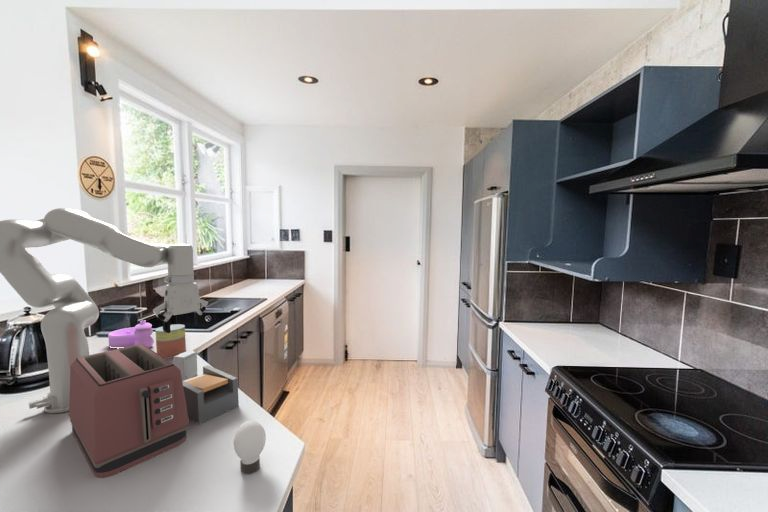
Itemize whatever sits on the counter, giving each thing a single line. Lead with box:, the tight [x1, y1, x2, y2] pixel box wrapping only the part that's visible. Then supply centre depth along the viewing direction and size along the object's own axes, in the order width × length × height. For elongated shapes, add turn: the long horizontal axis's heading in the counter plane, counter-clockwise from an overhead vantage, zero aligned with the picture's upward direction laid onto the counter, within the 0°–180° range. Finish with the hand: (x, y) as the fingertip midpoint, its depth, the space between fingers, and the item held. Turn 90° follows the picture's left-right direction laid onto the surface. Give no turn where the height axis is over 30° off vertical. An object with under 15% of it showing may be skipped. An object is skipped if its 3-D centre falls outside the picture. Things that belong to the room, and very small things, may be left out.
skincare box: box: [173, 350, 199, 381], centre depth 116 cm, size 6×4×12 cm
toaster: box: [68, 344, 190, 479], centre depth 88 cm, size 19×34×20 cm, turn 51°
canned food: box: [154, 323, 187, 359], centre depth 149 cm, size 11×11×12 cm
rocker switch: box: [184, 373, 228, 393], centre depth 103 cm, size 8×15×3 cm, turn 55°
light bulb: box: [233, 419, 266, 474], centre depth 76 cm, size 7×7×11 cm
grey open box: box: [182, 364, 239, 425], centre depth 103 cm, size 12×18×9 cm, turn 55°
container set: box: [107, 319, 155, 349], centre depth 162 cm, size 25×15×13 cm, turn 63°
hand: (182, 329), depth 115 cm, fingers open, 9 cm apart
